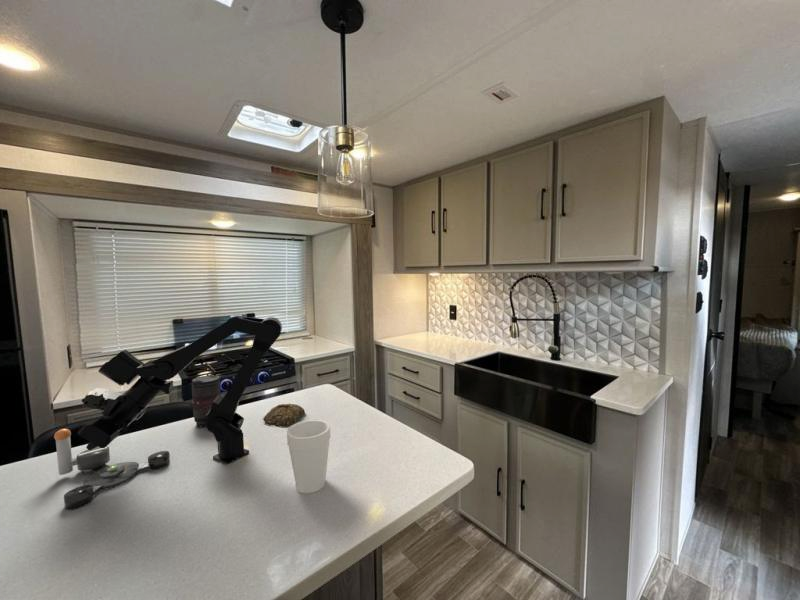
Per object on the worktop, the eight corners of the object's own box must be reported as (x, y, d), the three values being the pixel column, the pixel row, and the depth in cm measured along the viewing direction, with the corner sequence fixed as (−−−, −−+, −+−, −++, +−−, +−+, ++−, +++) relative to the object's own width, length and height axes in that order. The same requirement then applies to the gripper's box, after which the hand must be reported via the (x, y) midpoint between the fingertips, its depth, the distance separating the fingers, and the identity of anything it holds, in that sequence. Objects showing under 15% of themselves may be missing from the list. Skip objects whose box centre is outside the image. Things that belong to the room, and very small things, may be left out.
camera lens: (209, 429, 104) (206, 382, 103) (187, 427, 106) (184, 381, 105) (227, 418, 112) (225, 375, 111) (207, 417, 114) (204, 374, 113)
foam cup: (339, 476, 78) (337, 422, 77) (317, 501, 69) (315, 441, 68) (305, 469, 81) (303, 417, 80) (280, 493, 72) (277, 435, 71)
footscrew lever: (109, 454, 87) (106, 415, 87) (110, 463, 83) (107, 422, 82) (58, 469, 81) (54, 427, 80) (56, 479, 76) (52, 435, 76)
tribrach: (174, 463, 85) (173, 453, 85) (69, 512, 67) (68, 500, 67) (138, 447, 93) (138, 438, 93) (37, 488, 76) (36, 477, 75)
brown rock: (309, 413, 116) (309, 399, 115) (290, 429, 104) (289, 413, 103) (277, 410, 119) (276, 397, 118) (254, 425, 107) (253, 410, 106)
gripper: (127, 367, 88) (81, 414, 85) (84, 388, 70) (23, 449, 67) (165, 391, 90) (120, 437, 88) (132, 418, 73) (75, 477, 70)
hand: (88, 448), depth 78 cm, fingers closed
